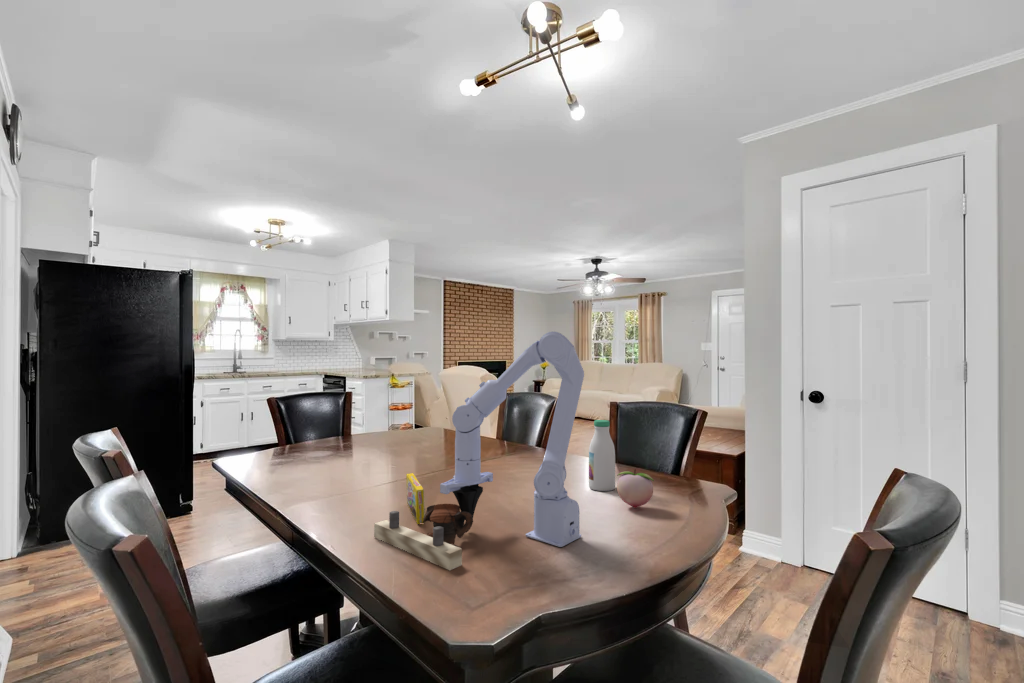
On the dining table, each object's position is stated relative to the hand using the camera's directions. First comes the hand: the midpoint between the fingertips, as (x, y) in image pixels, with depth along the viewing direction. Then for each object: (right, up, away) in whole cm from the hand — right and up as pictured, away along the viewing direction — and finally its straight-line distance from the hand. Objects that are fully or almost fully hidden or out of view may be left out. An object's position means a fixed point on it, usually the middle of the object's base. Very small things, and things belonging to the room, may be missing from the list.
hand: (467, 519), depth 107 cm
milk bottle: (+37, -4, +35) cm, 51 cm away
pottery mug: (-4, -2, -5) cm, 6 cm away
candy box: (-14, -3, +11) cm, 18 cm away
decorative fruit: (+42, -3, +16) cm, 45 cm away
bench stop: (-9, -2, -11) cm, 15 cm away
